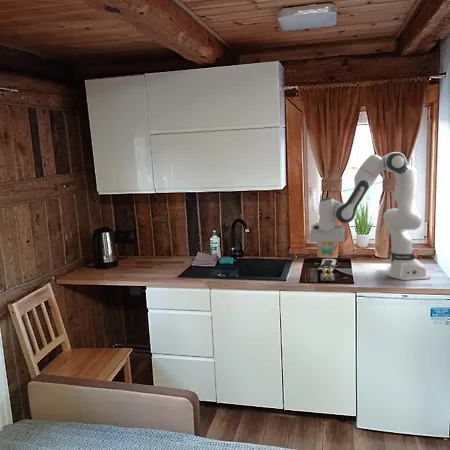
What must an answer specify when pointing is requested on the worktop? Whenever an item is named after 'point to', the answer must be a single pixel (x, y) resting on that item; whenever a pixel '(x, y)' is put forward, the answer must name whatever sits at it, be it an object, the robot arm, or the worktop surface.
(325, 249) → the green board
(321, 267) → the graphics card
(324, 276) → the chassis
